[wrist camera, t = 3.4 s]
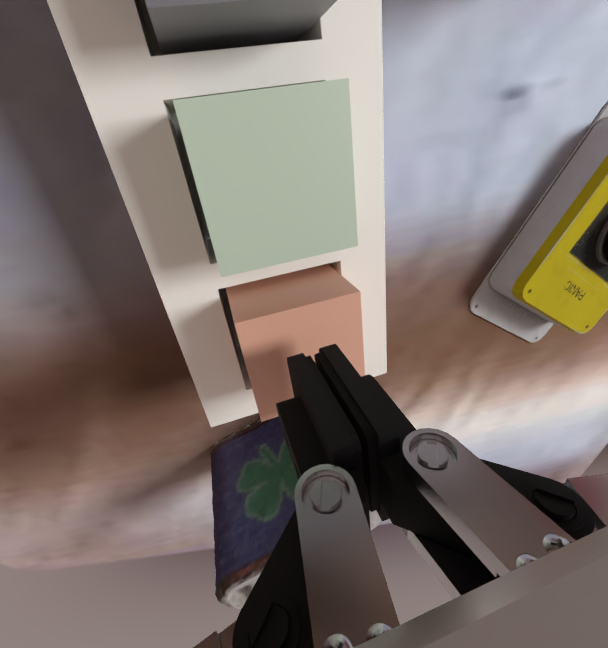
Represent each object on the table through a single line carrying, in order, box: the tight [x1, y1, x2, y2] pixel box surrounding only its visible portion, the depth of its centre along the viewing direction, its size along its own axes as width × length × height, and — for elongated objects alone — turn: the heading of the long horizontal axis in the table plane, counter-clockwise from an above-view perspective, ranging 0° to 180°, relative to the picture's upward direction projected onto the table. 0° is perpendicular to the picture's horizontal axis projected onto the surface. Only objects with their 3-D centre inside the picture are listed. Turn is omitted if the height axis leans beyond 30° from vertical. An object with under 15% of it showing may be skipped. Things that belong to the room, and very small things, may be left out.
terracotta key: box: [226, 264, 365, 422], centre depth 14 cm, size 4×4×4 cm
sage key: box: [173, 78, 358, 277], centre depth 11 cm, size 4×4×4 cm
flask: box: [210, 416, 382, 609], centre depth 19 cm, size 9×3×11 cm, turn 116°
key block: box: [47, 0, 387, 427], centre depth 13 cm, size 20×9×5 cm, turn 8°
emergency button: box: [470, 103, 608, 342], centre depth 22 cm, size 9×4×15 cm
